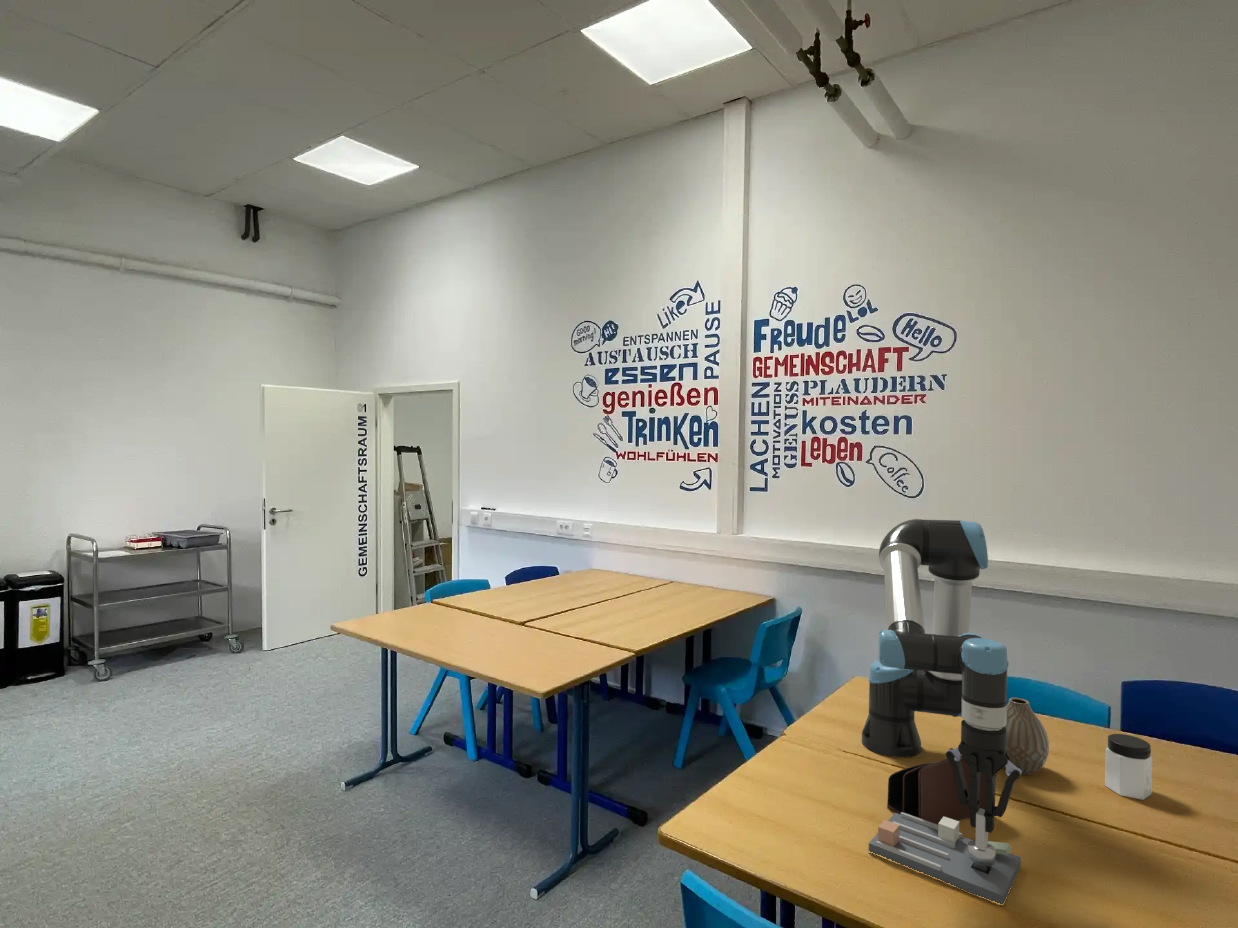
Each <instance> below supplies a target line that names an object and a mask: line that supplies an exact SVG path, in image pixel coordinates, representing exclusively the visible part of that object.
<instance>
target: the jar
mask: <svg viewBox="0 0 1238 928" xmlns="http://www.w3.org/2000/svg"><path fill="white" fill-rule="evenodd" d="M1151 753H1152V749H1151V744H1150V743H1149V742H1148V741H1146V740H1144V739H1142V738H1139V737H1137V736H1133V735H1130V734H1124V733H1112V734H1108V735H1107V747H1105V763H1104V764H1105V767H1104V768H1105V770H1104V771H1105V773H1104V785H1105V787H1107V788H1108V789H1110V790H1111V791H1113V792H1114V793H1116V794H1117V795H1118V796H1121V797H1126V798H1131V799H1136V800H1137V799H1138V800H1143V801H1144V800H1145V799H1147V798H1148V797H1149V796H1151V795H1152V784H1153V783H1152V779H1153V778H1152V777H1153V775H1152V774H1153V756H1152V754H1151Z"/></svg>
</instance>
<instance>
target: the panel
mask: <svg viewBox="0 0 1238 928" xmlns="http://www.w3.org/2000/svg"><path fill="white" fill-rule="evenodd" d="M887 821H890V822H893V823H896V824H898V825H900V833H899V842H898V843H897V844H896V845H895V847H892V846H890V845H887V844H885V843H882V842H879V841H878V832H877V833H876V834H875V835H874V836H873V838H871V840H870V841H869V842H868V852H869V851H870V852H873V853H875V854H878V855H881V856H883V857H886V858H887V859H891V860H892V861H895V862H897V863H900V864H901V865H905V866H908V867H909V868H912V869H914V870H917V871H919V872H923V873H924V874H927V875H930V876H932V877H935V878H937V879H940V880H942V881H944V882H946V883H950V884H951V885H954V886H956V887H958V888H960V889H963V890H965V891H967V892H970V893H972V894H975V895H978V896H981V897H984V898H986V899H989V900H991V901H995V902H997V903H1000V904H1003V903H1004V901H1005V899H1006V897H1007V894H1008V892H1009V890H1010V888H1011V886H1012V885H1013V886H1014V883H1015V881H1016V879H1015V878H1017V877H1016V875H1017V876H1018V874H1019V873H1020V870H1021V868H1020V867H1022V858H1021V856H1019V855H1016V854H1013V853H1011V852H1010V851H1011V849H1012V846H1011V844H1010V843H1007V842H1001V841H1000V842H999V841H990V840H988V843H989V844H990V845H992V846H993V847H994V848H995V864H994V865H992V866H989V872H988V874H986V873H984V872H981V871H979V870H976V869H973V863H974V862H973V861H972V860H970V859H969V857H968V842H969V841H971V840H972V839H971V838H968V837H965V836H963V833H961V832H960V831H959V838H958V839H957V841H956V843H952V842H949V841H947V840H944V839H941V838H938V825H937V824H934V823H931V822H929V821H926V820H923V819H920V818H917V817H914V816H912V815H909V814H906V813H903V812H901V815H900V814H898V813H894V812H893V814H892V815H891V817H889V819H888V820H887ZM1019 869H1020V870H1019ZM1014 880H1015V881H1014ZM1013 882H1014V883H1013ZM1013 886H1012V887H1013ZM960 889H959V890H960ZM1011 889H1012V888H1011ZM965 891H964V892H965ZM1010 891H1011V890H1010ZM967 892H966V893H967ZM970 893H969V894H970ZM1009 893H1010V892H1009ZM972 894H971V895H972ZM975 895H974V896H975ZM1008 895H1009V894H1008ZM1007 898H1008V897H1007ZM1006 900H1007V899H1006ZM1005 902H1006V901H1005ZM1004 904H1005V903H1004Z"/></svg>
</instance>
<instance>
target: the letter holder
mask: <svg viewBox="0 0 1238 928" xmlns="http://www.w3.org/2000/svg"><path fill="white" fill-rule="evenodd" d="M960 760H961V763H962V767H963V772H964V776H965V780H966V785H967V789H968V793H969V797H970V767H969V766H968V765H967V763H966V762H965V760H964V759H963V757H962V755H961V759H960ZM980 803H981V805H980V806H979V808H981V809H984V810H985V774H984V773H982V772H981V773H980ZM886 807H887V809H888V808H889V809H888V810H890V811H891V810H892V811H893V812H892V811H891V812H892V813H894V812H895V813H898V814H900V815H901V812H903V813H906V814H909V815H912V816H914V817H917V818H920V819H923V820H926V821H929V822H931V823H934V824H937V825H938V823H939V822H940V820H941V819H942V818H943V816H944V817H947V818H950V819H953V820H956V821H959V822H960V821H963V820H967V819H970V809H969V808H968V807H967V806H965V805H961V804H960V802H959V798H958V793H957V789H956V785H955V780H954V776H953V772H952V767H951V764H950V762H949V761H948V759H947V758H946V759H943V760H938V761H932V762H931V761H930V762H926V763H921V764H916V765H913V766H909V767H906V768H903V769H899V770H898V771H895V772H894V773H892V774H890V775H889V776H888V781H887V803H886Z"/></svg>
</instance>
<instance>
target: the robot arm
mask: <svg viewBox="0 0 1238 928" xmlns="http://www.w3.org/2000/svg"><path fill="white" fill-rule="evenodd" d="M878 551H879V553H878V560H879V561H878V562H879V564H880V566H881V568H883V573H884V575H883V576H884V590H885V591H884V592H885V596H884V597H885V612H886V629H883V630H880V631H878V639H877V641H878V643H877V645H878V652H877V653H878V659H876V660H874V661H873V662H872V663H871V664H870V667H869V671H868V672H869V673H868V679H867V680H868V684H869V685H868V687H869V688H868V715H867V718H866V721H865V723H864V725H863V728H862V731H861V744H863V746H864V747H865V748H866V749H868V750H870V751H872V752H874V753H877V754H879V755H883V756H888V757H892V758H893V757H894V758H911V757H915V756H917V755H920V753H921V752H922V741H921V738H920V734H919V731H918V728H917V725H916V721H915V712H917V713H918V712H919V713H926V714H934V715H944V716H951V717H952V718H958V717H961V718H962V720H961V722H960V723H961V724H960V726H961V727H960V732H961V733H960V743H959V744H958V745H957V747H955V748H952V747H950V748H948V750H947V751H946V753H945V757H946V759H948V761H949V762H950V764H951V767H952V772H953V776H954V780H955V785H956V789H957V793H958V798H959V802H960V804H961V805H965V806H967V807H968V808H969V809H970V818H969V826H970V827H971V828H973V829H975V840H976V848H978V849H981V850H985V848H986V847H987V845H988V841H989V834H992V833H993V830H994V829H995V817H998V818H1002V817H1003V816H1004V814H1005V813H1006V810H1007V807H1008V804H1009V801H1010V797H1011V795H1012V792H1013V789H1014V785H1015V784H1016V781H1017V780H1018V779H1019V778H1020V777H1021V775H1022V774H1021V773H1022V768H1021V767H1018V766H1017V767H1016V766H1015V765H1014V764H1012V763H1011V762H1010V761H1009V756H1008V754H1007V752H1006V728H1005V726H1006V724H1007V704H1008V703H1007V697H1008V696H1007V695H1008V693H1007V692H1008V691H1007V690H1008V668H1009V660H1008V649H1007V647H1006V646H1005V645H1004V644H1003V643H1002V642H998V641H997V640H993V639H989V638H985V637H983V636H981V635H980V634H977V633H973V632H970V621H971V620H970V619H971V608H972V607H971V606H972V605H971V604H972V603H971V602H972V590H973V589H972V587H973V582H974V581H976V580H977V579H978V578H979V577H980V573H981V572H980V570H981V571H982V570H986V569H987V568H988V567H989V566H988V565H989V555H988V546H987V541H986V536H985V533H984V529H983V527H982V525H981V524H980V523H978V522H976V521H966V520H962V519H960V520H958V519H955V520H953V519H952V520H948V519H921V518H914V519H908V520H906V521H903V522H901V523H899V524H897V525H896V526H894V527H893V528H891V529H890V530H889V532H888V533H887V534H886V535H885V537H883V539H882V541H881V544H880V547H879V550H878ZM920 566H928V573H929V574H931V576H932V577H934V584H933V607H932V609H933V610H932V629H931V630H932V631H931V633H926V629H925V621H924V614H923V613H924V612H923V604H922V603H923V602H922V596H921V587H920V579H919V570H918V569H919V568H920ZM961 756H962V757H963V759H964V760H965V762H966V763H967V765H968V766H969V767H970V797H969V793H968V789H967V785H966V780H965V776H964V772H963V767H962V763H961V760H960V759H961ZM1004 766H1005V767H1006V769H1005V774H1006V776H1007V777H1006V778H1005V782H1004V785H1003V788H1002V791H1001V793H1000V797H999V800H998V803H997V806H996V777H997V774H998V773H999V772H1000V771H1002V769H1003V768H1004ZM981 772H982V773H984V774H985V810H984V809H981V808H979V806H980V805H981V803H980V773H981Z"/></svg>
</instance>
